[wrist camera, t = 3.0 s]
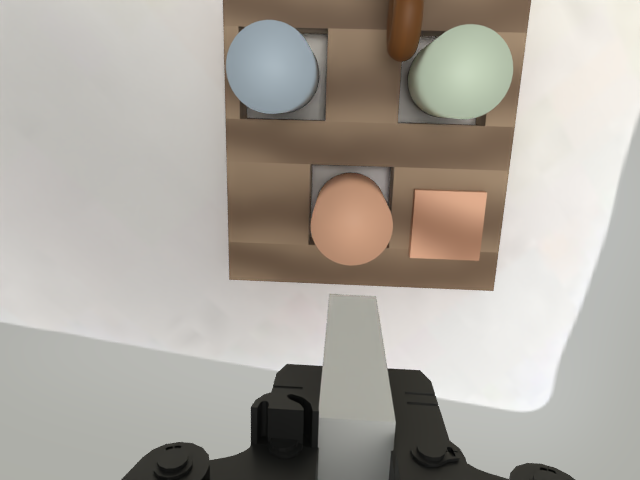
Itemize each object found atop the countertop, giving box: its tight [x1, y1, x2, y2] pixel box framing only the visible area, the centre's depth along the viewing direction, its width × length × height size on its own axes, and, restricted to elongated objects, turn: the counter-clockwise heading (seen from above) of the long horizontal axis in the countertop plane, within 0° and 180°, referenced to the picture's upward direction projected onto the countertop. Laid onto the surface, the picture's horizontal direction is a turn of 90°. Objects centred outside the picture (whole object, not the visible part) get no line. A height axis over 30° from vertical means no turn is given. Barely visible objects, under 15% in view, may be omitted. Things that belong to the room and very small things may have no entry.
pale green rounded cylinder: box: [408, 24, 513, 119], centre depth 30 cm, size 5×5×6 cm
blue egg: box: [226, 20, 319, 114], centre depth 30 cm, size 5×5×6 cm
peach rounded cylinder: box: [311, 173, 393, 266], centre depth 32 cm, size 5×5×6 cm
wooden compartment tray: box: [223, 0, 531, 291], centre depth 35 cm, size 20×20×3 cm
